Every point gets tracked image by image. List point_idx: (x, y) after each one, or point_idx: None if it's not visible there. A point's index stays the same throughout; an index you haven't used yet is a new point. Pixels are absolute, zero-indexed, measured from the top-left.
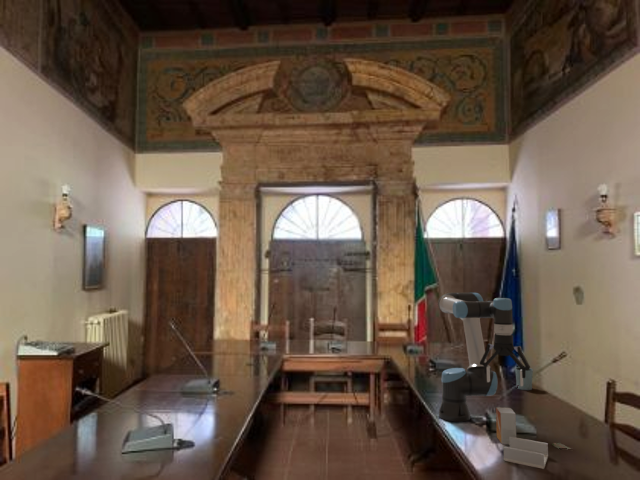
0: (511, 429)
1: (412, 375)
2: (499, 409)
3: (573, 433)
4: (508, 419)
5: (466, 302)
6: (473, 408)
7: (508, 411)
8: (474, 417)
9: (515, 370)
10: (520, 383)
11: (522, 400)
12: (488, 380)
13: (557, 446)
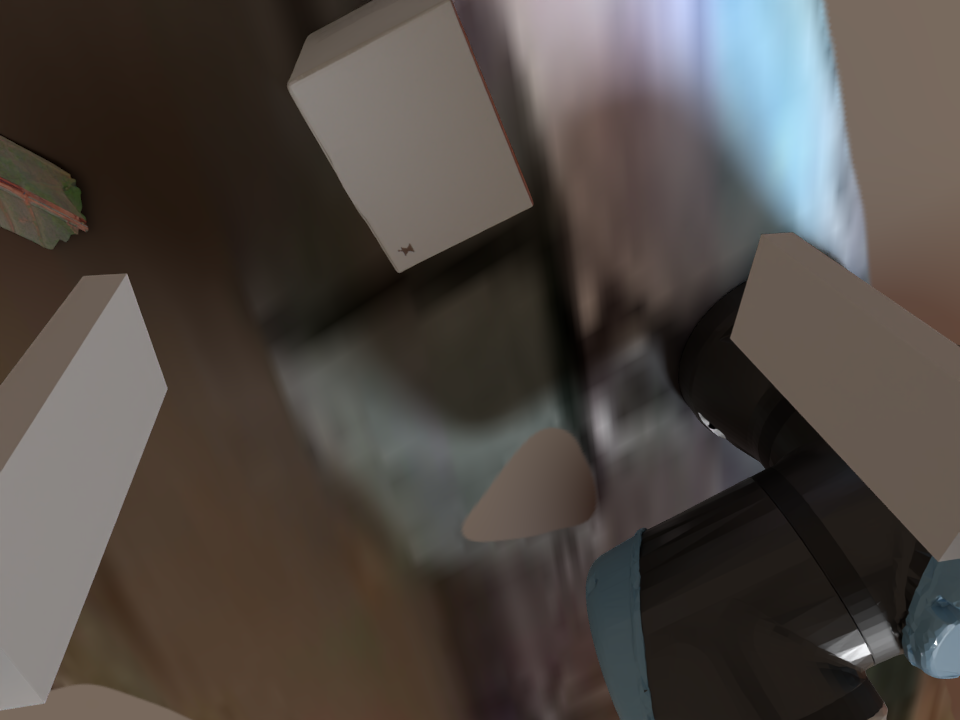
0: (336, 32)
1: (922, 704)
2: (487, 146)
3: None
4: (361, 32)
5: None
6: None
7: (379, 121)
8: (655, 406)
9: None
10: (104, 302)
11: (466, 707)
12: (785, 247)
13: (35, 178)
